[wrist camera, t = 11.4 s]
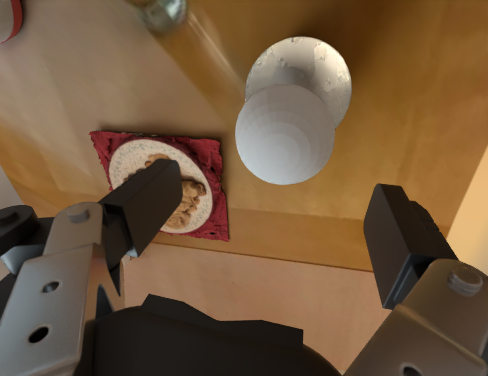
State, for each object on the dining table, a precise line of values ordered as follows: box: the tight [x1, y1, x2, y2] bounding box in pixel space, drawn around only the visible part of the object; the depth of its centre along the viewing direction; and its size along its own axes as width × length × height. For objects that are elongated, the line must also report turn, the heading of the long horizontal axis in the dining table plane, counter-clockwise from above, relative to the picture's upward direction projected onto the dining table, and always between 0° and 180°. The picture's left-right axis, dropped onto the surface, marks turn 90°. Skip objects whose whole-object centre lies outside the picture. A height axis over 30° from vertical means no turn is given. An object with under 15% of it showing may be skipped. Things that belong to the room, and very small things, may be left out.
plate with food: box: [89, 131, 229, 242], centre depth 50 cm, size 24×26×4 cm
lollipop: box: [235, 84, 335, 185], centre depth 19 cm, size 6×6×15 cm
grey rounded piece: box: [245, 36, 352, 129], centre depth 30 cm, size 11×11×12 cm
